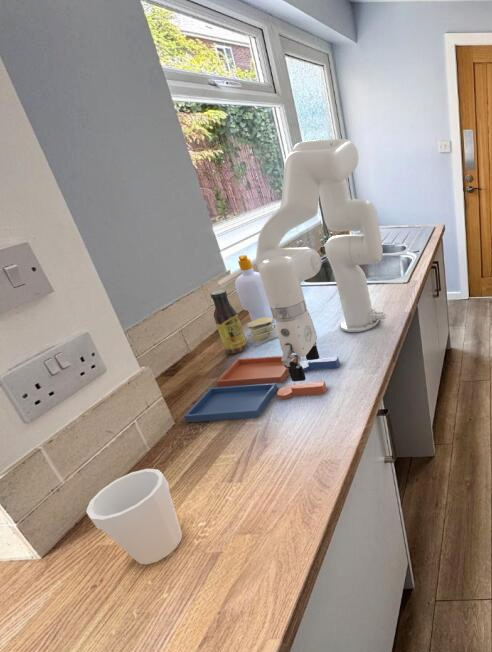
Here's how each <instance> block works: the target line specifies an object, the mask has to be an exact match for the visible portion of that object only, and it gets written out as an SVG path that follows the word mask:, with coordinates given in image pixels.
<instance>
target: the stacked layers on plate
mask: <svg viewBox="0 0 492 652" xmlns="http://www.w3.org/2000/svg"><path fill="white" fill-rule="evenodd" d="M273 320H274V318H268V317H262V318H259V319H256V320H254V321H252V320H251V321H250V322H247V323H246V325H247V326H248V327H247V329H248V330H250V332H249V334H250V335H249V336H247V337H246V336H245V338H246V341H247V342H248V343H250V344H252V345H254V346H255V347H257V346H259V345H262V344H264V343H267V342H269V341H272V340H273V339H276V338H279V337H278V333H277V327H276V326H275V321H273Z"/></svg>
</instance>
